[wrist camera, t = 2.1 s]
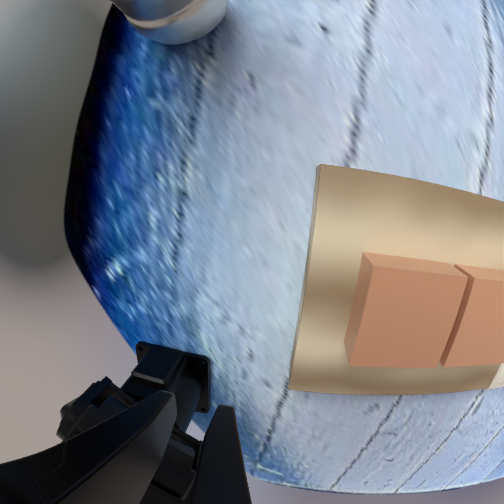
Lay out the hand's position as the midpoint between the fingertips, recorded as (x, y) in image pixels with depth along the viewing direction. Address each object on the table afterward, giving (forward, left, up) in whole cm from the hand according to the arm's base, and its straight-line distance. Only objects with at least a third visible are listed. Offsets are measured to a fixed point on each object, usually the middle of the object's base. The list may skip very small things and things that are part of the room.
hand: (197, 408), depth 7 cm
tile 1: (0, -8, -10) cm, 13 cm away
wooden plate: (0, -11, -13) cm, 17 cm away
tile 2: (0, -14, -10) cm, 17 cm away
